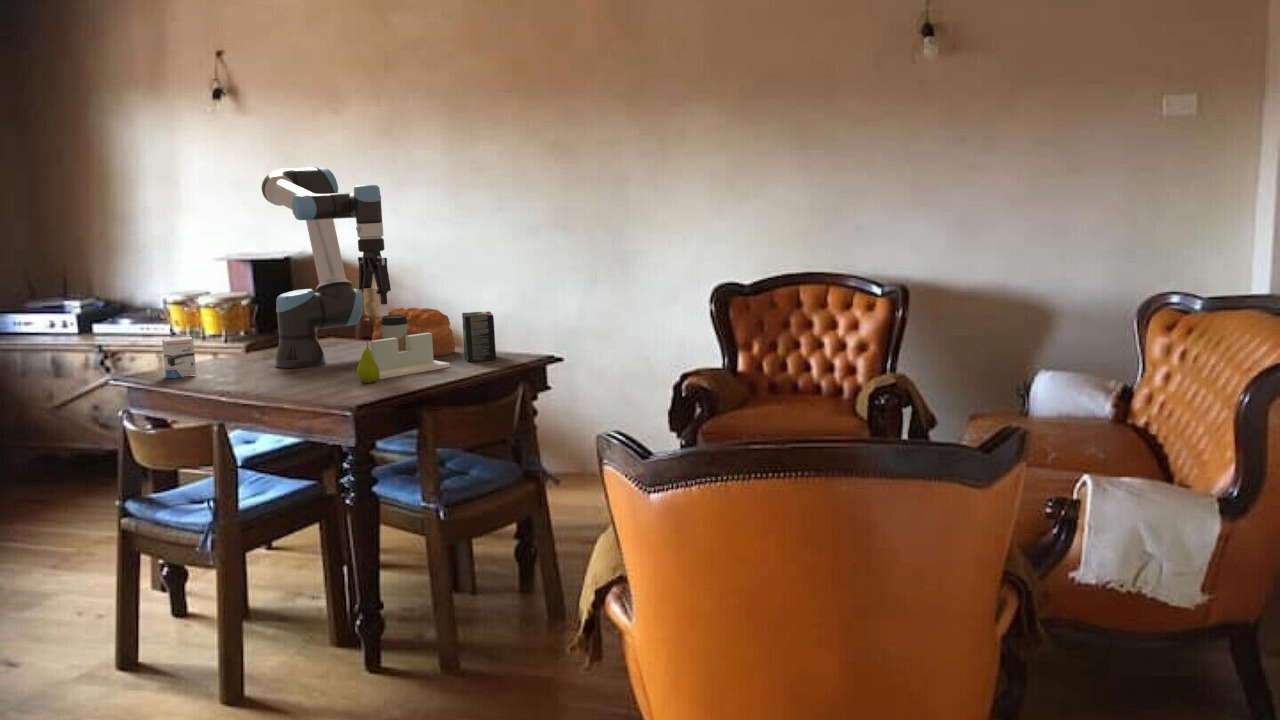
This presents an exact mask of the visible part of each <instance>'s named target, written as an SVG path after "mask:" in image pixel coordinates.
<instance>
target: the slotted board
mask: <svg viewBox="0 0 1280 720" xmlns="http://www.w3.org/2000/svg"><path fill="white" fill-rule="evenodd" d="M405 338H406V351H399V349H398V338H387V339H380V340H374V341H372V340H370V342H369V343H370V351H371V353H372V357H373V359H374V362H375V363H376V364H377V366H378V368H379V373H380V375H379V378H378V379H381V380H382V379H383V380H384V379H388V378H395V377H398V376H399V377H401V376H407V375H410V374H411V375H412V374H418V373H423V372H430V371H435V370H441V369H446V368H450V367H451V364H450V363H449V362H447V361H446V362H445V361H439V360H434V356H433V343H432V333H422V334H415V335H408V336H405Z"/></svg>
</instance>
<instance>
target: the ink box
mask: <svg viewBox="0 0 1280 720" xmlns="http://www.w3.org/2000/svg"><path fill="white" fill-rule="evenodd" d="M161 340H162V341H161V342H162V343H161V344H162V353H163V363H164V374H165V378H166V379H167V378H173V379H176V378H175V377H183V378H185V377H184V376H191V375H196V376H197V367H196V366H197V365H196V356H195V346H194V345H195V344H194V339H193V337H192V336H181V337H168V338H167V337H166V338H162V339H161Z"/></svg>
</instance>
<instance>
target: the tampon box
mask: <svg viewBox="0 0 1280 720" xmlns="http://www.w3.org/2000/svg"><path fill="white" fill-rule="evenodd" d="M461 314H462V315H461V317H462V318H461V319H462V335H463V336H462V337H463V356H464V358H465V360H466V361H467V362H468V363H469V362H470V363H471V362H484V361H485V362H487V361H497V355H496V354H497V353H496V336H495V321H494V320H495V319H494V314H493V313H492V312H491V311H472V312H462V313H461Z"/></svg>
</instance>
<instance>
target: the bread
mask: <svg viewBox="0 0 1280 720" xmlns="http://www.w3.org/2000/svg"><path fill="white" fill-rule="evenodd" d="M389 315H405V316H406V319H407V322H408V323H407V336H408V335H415V334H422V333H432V343H433V357H441V356H447V355H450V354H452V353H454V352H455V350H456V342H455V341H454V334H453V330H452V329H451V327H450V326H451V322H450V318H449V317H448V315H446V314H444V313H443V312H441V311H440V310H438V309H433V308H428V307H426V308H425V307H424V308H418V307H409V308H406V309H405V308H403V307H401V308H388V316H389ZM382 317H383V316H381V317H376V318H375V319H374V321H373V325H372V327H373V333H372V335H371V341H374V340H380V339H383V333H382V326H381V320H382Z"/></svg>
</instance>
